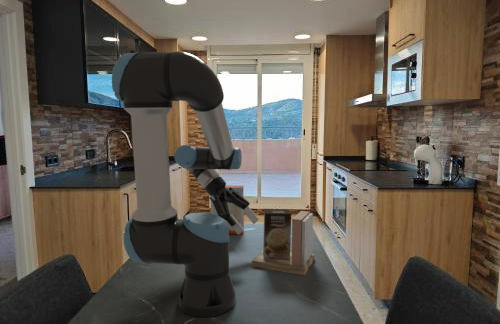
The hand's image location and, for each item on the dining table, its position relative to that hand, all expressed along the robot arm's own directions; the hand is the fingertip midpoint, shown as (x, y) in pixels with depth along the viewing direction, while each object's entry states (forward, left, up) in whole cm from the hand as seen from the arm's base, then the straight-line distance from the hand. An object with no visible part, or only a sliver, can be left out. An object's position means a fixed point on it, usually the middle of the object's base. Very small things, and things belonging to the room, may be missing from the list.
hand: (249, 226), depth 120 cm
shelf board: (0, -13, -11) cm, 17 cm away
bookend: (0, -19, -9) cm, 22 cm away
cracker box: (+22, +20, -11) cm, 32 cm away
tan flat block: (0, -19, -9) cm, 21 cm away
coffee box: (0, -10, -9) cm, 14 cm away
